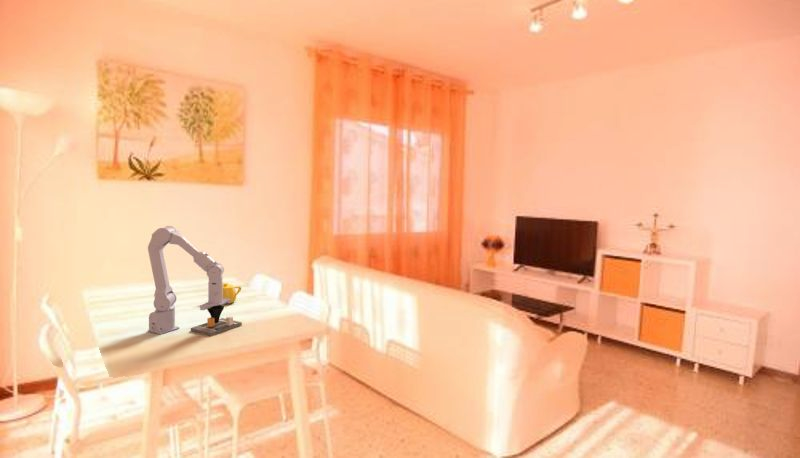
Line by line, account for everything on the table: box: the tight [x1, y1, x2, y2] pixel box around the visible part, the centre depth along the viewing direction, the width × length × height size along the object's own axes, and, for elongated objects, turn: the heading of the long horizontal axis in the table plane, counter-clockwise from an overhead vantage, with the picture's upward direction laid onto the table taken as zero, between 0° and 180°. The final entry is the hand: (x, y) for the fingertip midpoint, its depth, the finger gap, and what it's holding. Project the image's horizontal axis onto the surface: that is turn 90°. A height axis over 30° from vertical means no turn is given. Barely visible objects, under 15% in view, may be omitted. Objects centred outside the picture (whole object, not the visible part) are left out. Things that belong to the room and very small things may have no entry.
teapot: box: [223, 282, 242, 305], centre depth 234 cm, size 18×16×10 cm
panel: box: [190, 315, 243, 337], centre depth 193 cm, size 17×12×5 cm
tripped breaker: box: [206, 316, 215, 327], centre depth 190 cm, size 2×2×4 cm
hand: (215, 322), depth 192 cm, fingers closed
